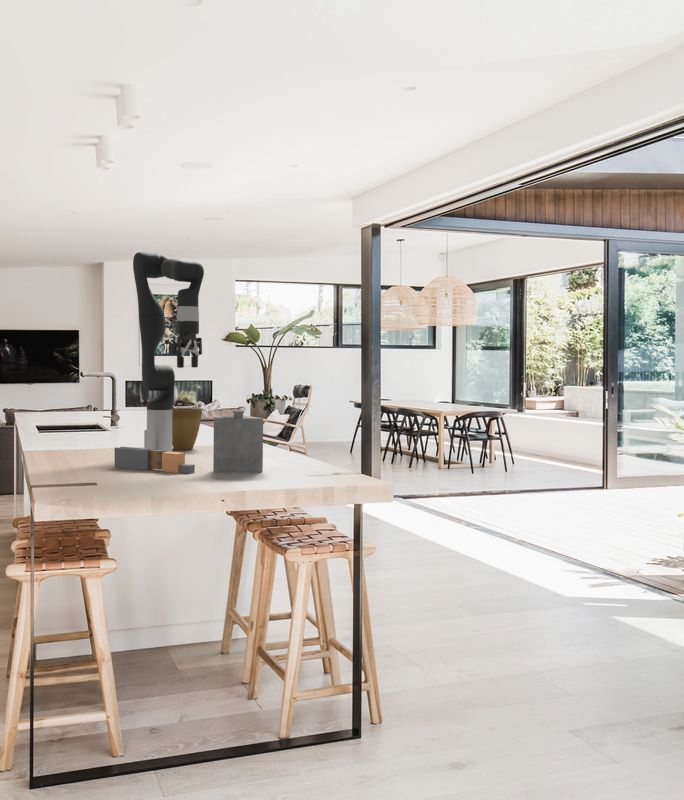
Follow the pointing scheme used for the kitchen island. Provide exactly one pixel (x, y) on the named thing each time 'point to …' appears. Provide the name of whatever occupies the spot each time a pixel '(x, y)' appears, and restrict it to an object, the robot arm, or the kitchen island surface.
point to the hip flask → (238, 444)
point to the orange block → (172, 461)
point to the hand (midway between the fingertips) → (187, 367)
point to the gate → (155, 459)
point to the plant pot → (185, 427)
